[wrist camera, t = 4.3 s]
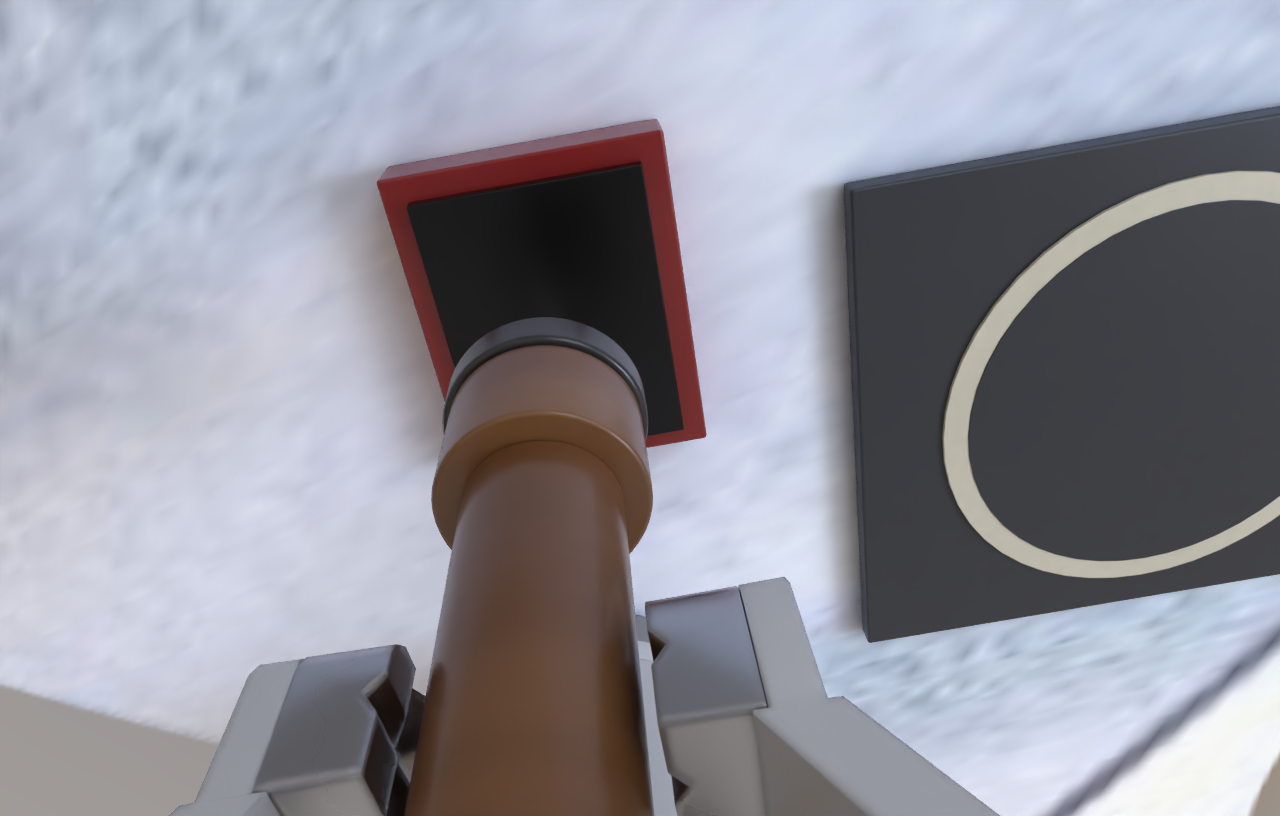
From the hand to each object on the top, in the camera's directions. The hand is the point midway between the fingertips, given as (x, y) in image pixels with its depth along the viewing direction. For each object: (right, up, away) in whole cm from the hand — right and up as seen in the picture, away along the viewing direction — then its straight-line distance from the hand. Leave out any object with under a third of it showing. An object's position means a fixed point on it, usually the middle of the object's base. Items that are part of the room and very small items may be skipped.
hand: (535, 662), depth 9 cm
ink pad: (-1, +5, +10) cm, 11 cm away
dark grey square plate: (+14, +3, +12) cm, 19 cm away
